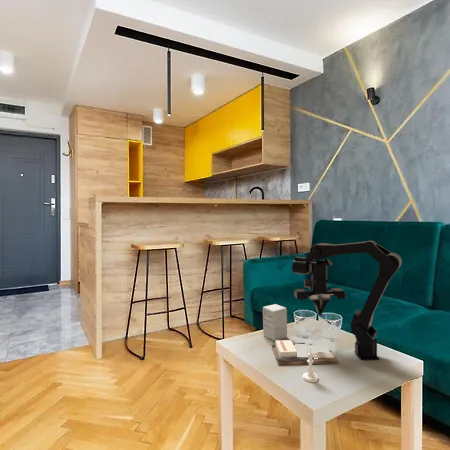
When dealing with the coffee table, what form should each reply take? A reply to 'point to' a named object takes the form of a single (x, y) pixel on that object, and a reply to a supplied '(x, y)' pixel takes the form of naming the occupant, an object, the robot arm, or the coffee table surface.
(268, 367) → the coffee table surface
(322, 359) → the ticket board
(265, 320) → the grey drawer cabinet
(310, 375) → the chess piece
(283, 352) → the cream flat box
